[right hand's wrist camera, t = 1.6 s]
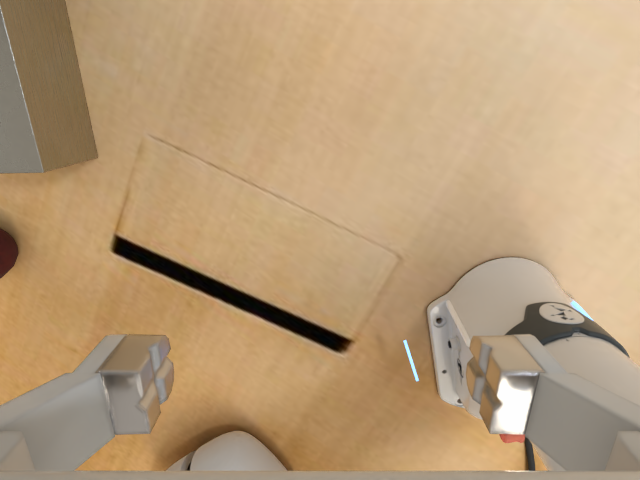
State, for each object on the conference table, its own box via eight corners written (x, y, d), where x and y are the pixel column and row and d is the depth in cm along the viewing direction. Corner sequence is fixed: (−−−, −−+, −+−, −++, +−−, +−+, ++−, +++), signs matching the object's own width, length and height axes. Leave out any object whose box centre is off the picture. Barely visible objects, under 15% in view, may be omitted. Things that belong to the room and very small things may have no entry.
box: (98, 157, 43) (43, 172, 35) (40, 158, 43) (-29, 174, 35) (50, -69, 36) (-33, -120, 28) (-19, -67, 36) (-124, -118, 28)
